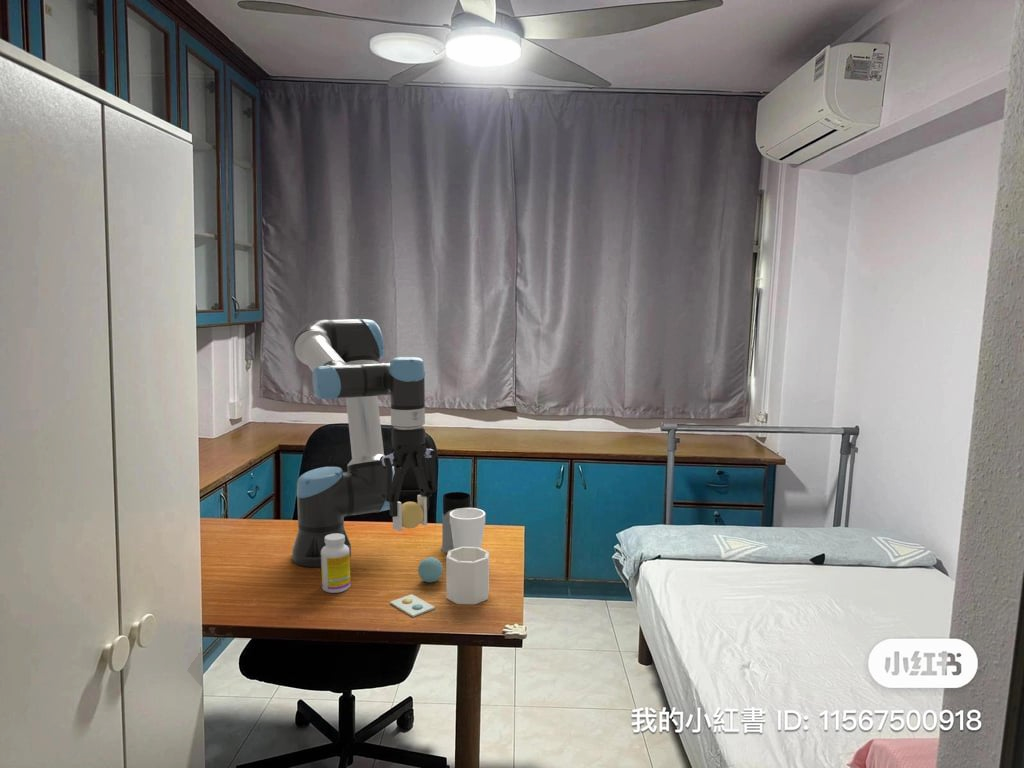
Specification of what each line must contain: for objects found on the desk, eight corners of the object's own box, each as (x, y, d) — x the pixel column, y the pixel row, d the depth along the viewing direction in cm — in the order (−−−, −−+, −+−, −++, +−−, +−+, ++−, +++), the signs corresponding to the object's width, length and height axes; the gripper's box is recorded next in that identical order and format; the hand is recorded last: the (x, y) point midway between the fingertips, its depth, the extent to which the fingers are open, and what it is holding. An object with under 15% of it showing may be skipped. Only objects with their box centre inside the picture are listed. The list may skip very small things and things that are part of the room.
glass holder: (441, 555, 191) (441, 501, 189) (439, 536, 205) (439, 486, 203) (473, 553, 192) (473, 500, 190) (470, 535, 206) (470, 485, 204)
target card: (390, 603, 162) (390, 601, 162) (411, 595, 166) (411, 593, 166) (413, 617, 156) (412, 614, 156) (435, 608, 160) (434, 606, 160)
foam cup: (453, 569, 182) (452, 520, 180) (446, 556, 190) (446, 509, 188) (489, 566, 184) (489, 517, 182) (481, 552, 193) (481, 506, 191)
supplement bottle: (356, 587, 170) (355, 536, 169) (333, 596, 165) (331, 543, 164) (339, 579, 175) (337, 529, 173) (316, 588, 170) (314, 537, 168)
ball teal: (413, 581, 174) (413, 557, 173) (433, 574, 178) (432, 551, 177) (427, 588, 170) (427, 565, 169) (447, 581, 174) (447, 558, 173)
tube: (439, 594, 167) (438, 553, 166) (470, 582, 174) (470, 543, 172) (465, 608, 160) (465, 565, 159) (496, 595, 167) (497, 555, 165)
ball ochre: (391, 527, 162) (391, 501, 161) (414, 522, 166) (413, 497, 165) (405, 533, 157) (405, 507, 157) (428, 528, 161) (428, 502, 161)
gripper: (379, 434, 150) (381, 539, 153) (452, 423, 162) (453, 522, 165) (362, 429, 156) (364, 531, 159) (434, 419, 168) (435, 514, 171)
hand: (410, 526), depth 162 cm, fingers closed on ball ochre, 6 cm apart
